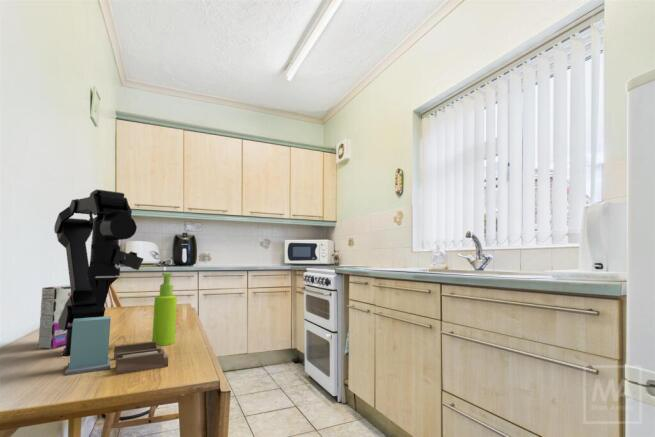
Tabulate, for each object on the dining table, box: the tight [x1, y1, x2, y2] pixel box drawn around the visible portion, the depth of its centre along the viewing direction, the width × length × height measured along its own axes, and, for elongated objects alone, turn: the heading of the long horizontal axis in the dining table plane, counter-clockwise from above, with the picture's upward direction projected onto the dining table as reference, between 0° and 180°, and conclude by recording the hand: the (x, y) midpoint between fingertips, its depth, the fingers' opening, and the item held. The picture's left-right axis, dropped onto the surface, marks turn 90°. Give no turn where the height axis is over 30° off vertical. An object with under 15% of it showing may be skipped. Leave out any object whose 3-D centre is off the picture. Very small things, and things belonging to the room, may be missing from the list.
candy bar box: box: [38, 284, 71, 350], centre depth 100 cm, size 11×5×16 cm, turn 168°
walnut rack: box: [113, 341, 169, 375], centre depth 82 cm, size 14×10×3 cm
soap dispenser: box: [151, 272, 178, 347], centre depth 101 cm, size 6×7×20 cm
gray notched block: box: [123, 351, 158, 358], centre depth 79 cm, size 2×8×3 cm, turn 123°
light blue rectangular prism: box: [69, 315, 111, 369], centre depth 79 cm, size 4×7×10 cm, turn 123°
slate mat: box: [64, 356, 111, 376], centre depth 78 cm, size 8×8×1 cm
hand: (100, 304), depth 84 cm, fingers open, 9 cm apart
